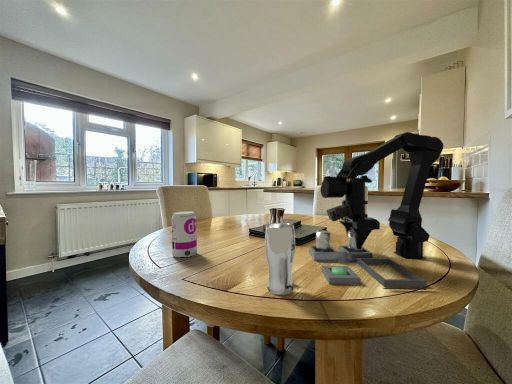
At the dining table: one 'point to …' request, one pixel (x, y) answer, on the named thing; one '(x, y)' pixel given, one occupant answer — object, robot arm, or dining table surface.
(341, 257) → the grey shallow tray
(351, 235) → the billet
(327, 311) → the dining table surface
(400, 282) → the grey rectangular frame
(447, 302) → the dining table surface
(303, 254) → the dining table surface
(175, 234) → the supplement can
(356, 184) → the robot arm
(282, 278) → the silver vase
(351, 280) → the button housing
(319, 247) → the seated billet
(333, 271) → the button
